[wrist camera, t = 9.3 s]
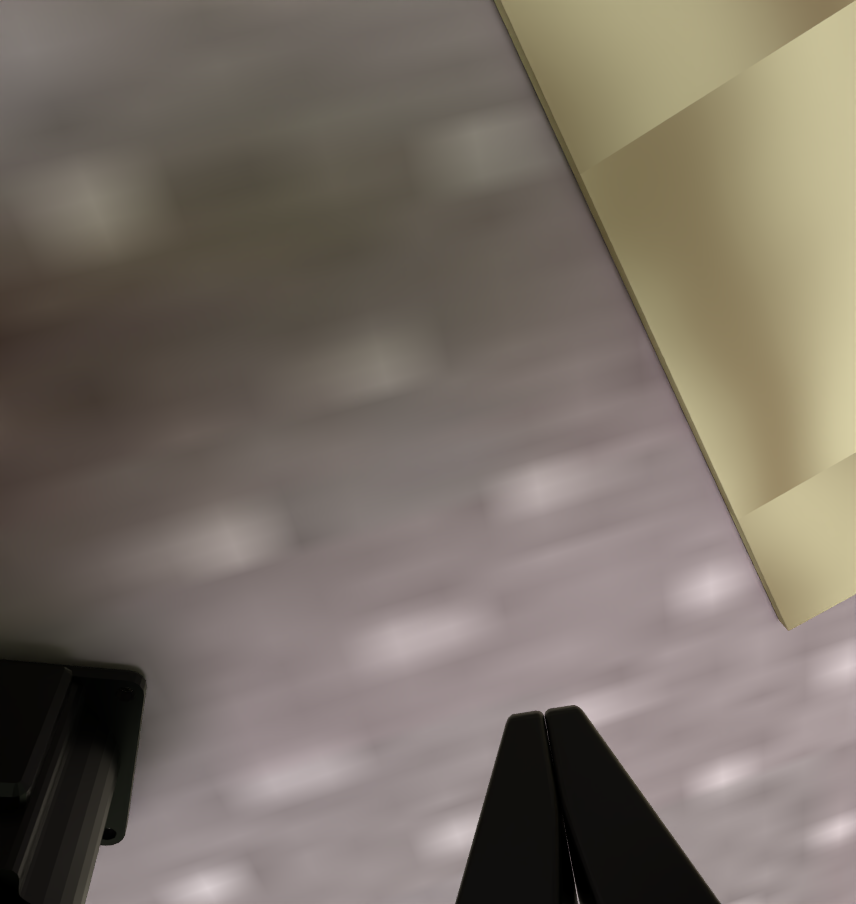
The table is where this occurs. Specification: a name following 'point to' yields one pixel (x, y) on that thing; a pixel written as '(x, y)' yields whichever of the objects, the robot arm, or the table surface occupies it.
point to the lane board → (730, 241)
